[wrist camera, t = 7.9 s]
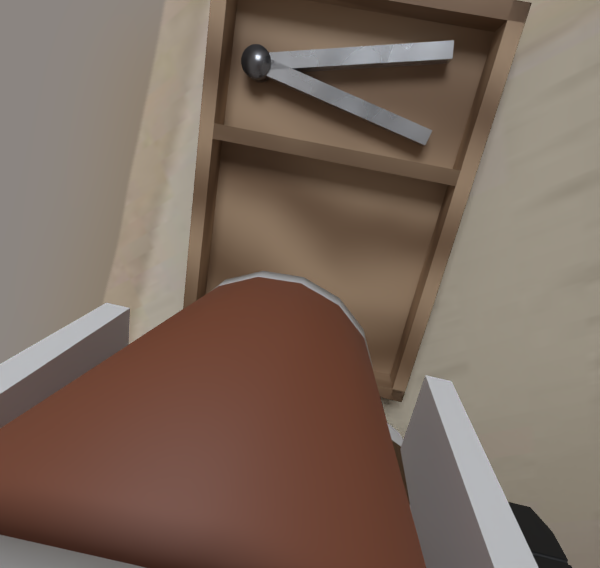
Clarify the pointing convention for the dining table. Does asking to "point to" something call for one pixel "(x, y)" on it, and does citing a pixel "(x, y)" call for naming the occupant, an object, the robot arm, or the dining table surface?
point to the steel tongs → (292, 63)
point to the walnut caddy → (346, 158)
